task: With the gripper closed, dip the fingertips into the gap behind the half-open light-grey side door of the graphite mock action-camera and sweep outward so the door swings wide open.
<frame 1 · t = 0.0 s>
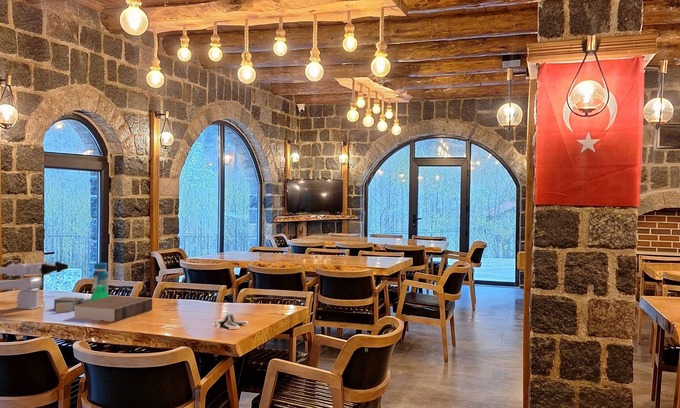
hand: (62, 267, 282), 22 cm above the table, tool horizontal, fingers open, 7 cm apart
camera mount: (103, 305, 298), on the table
camera body: (69, 308, 286), on the table
side door: (65, 307, 278), point 2 cm above the table, hinge at 50.0°
book: (113, 315, 274), on the table
beverage bottle: (100, 298, 315), on the table
cloth: (227, 327, 253), on the table
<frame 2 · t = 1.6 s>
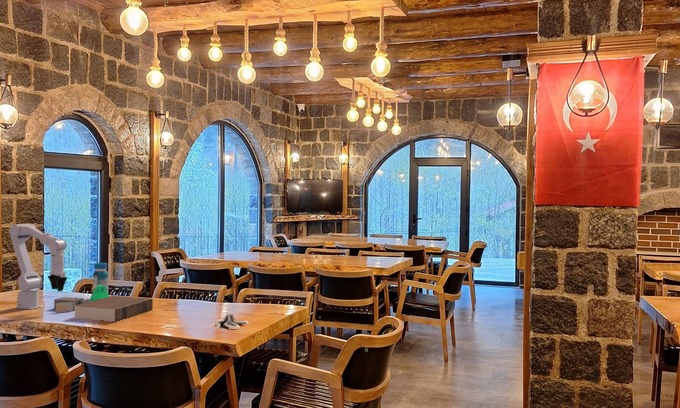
hand: (57, 290, 281), 10 cm above the table, tool pointing down, fingers open, 7 cm apart
nothing on the table moved.
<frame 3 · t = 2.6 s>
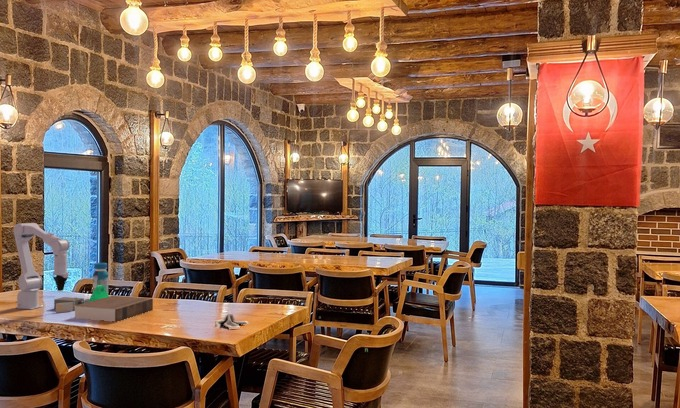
hand: (60, 290, 279), 10 cm above the table, tool pointing down, fingers closed
nothing on the table moved.
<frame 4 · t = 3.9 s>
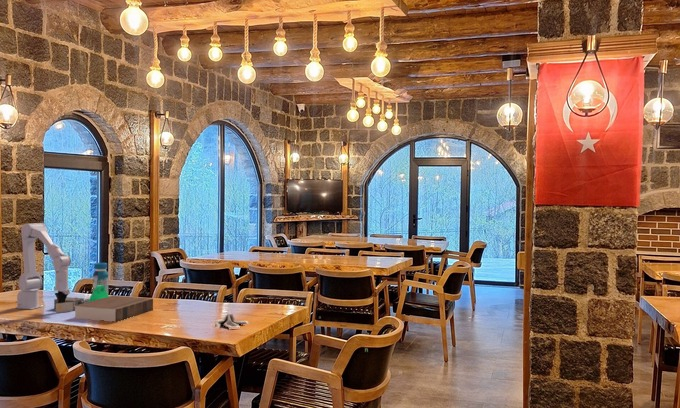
hand: (61, 306, 278), 3 cm above the table, tool pointing down, fingers closed, pressing on side door
side door: (65, 307, 278), point 2 cm above the table, hinge at 50.4°, touching gripper
everything else where it was.
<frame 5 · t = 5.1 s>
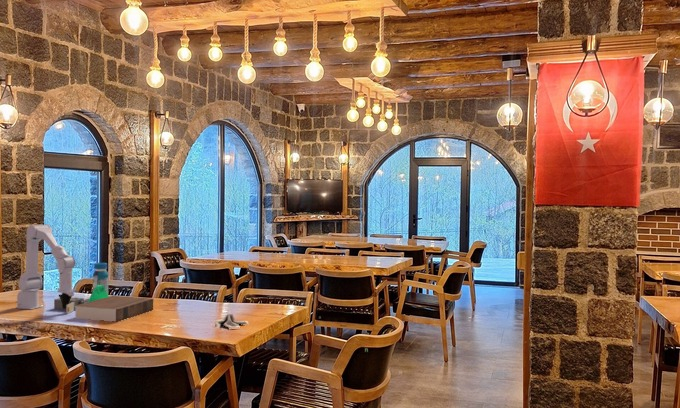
hand: (65, 308, 275), 2 cm above the table, tool pointing down, fingers closed, pressing on side door
side door: (70, 307, 277), point 2 cm above the table, hinge at 107.8°, touching gripper
everything else where it was.
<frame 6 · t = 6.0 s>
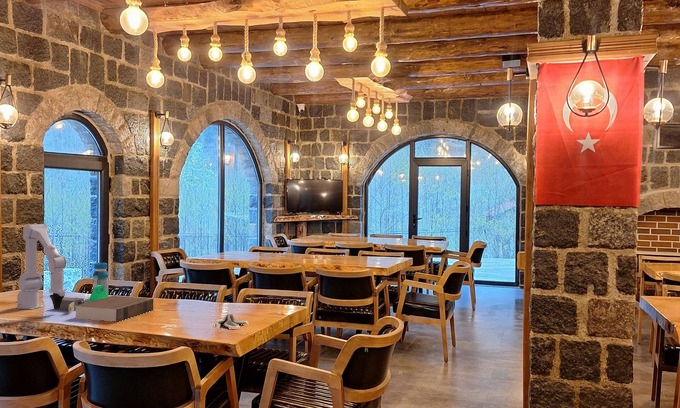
hand: (56, 308, 273), 3 cm above the table, tool pointing down, fingers closed
side door: (71, 307, 277), point 2 cm above the table, hinge at 115.3°
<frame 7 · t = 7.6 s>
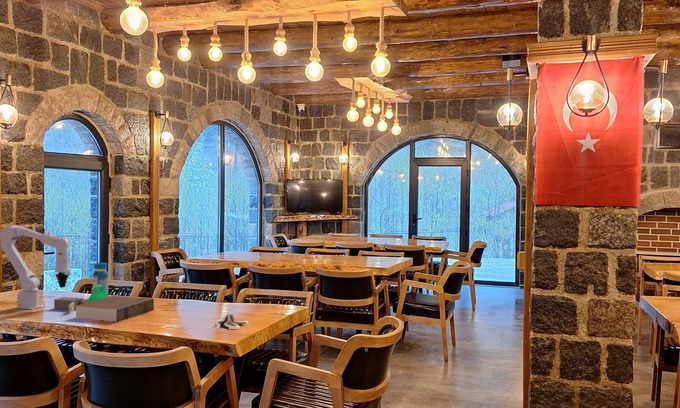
hand: (62, 287, 289), 10 cm above the table, tool pointing down, fingers closed
side door: (71, 307, 277), point 2 cm above the table, hinge at 115.7°
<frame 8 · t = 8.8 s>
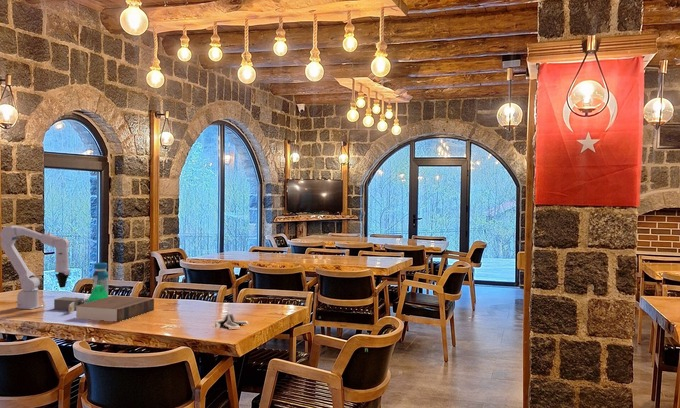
hand: (62, 287, 289), 10 cm above the table, tool pointing down, fingers closed
at the end: side door at +116° (first picture: +50°) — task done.
